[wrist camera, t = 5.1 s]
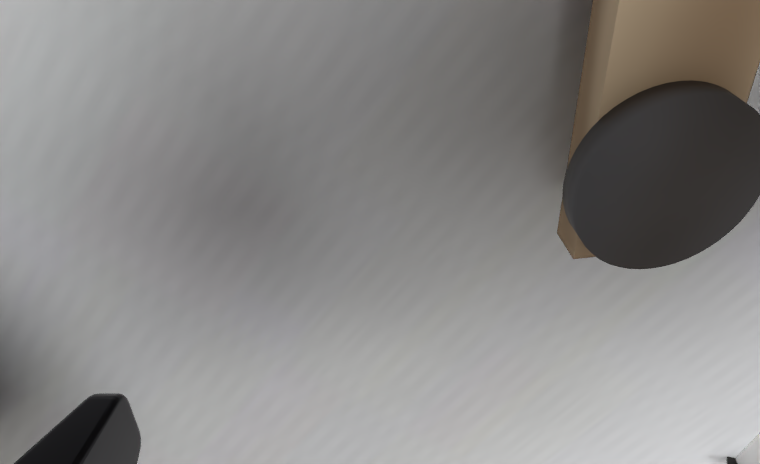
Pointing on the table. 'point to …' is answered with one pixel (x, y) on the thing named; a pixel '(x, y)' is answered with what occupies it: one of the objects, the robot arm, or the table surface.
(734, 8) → the lever
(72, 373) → the table surface
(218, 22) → the table surface
